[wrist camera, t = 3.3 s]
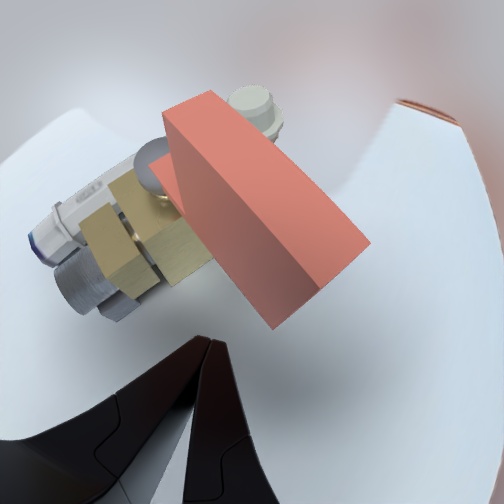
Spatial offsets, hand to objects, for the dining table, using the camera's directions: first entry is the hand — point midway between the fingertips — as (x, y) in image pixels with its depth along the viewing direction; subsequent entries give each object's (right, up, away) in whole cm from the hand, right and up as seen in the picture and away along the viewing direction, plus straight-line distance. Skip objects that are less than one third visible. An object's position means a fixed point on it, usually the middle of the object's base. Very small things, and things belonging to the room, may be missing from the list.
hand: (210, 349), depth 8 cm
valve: (-4, +3, +15) cm, 16 cm away
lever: (-1, +4, +5) cm, 7 cm away
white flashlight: (-7, +9, +18) cm, 21 cm away
